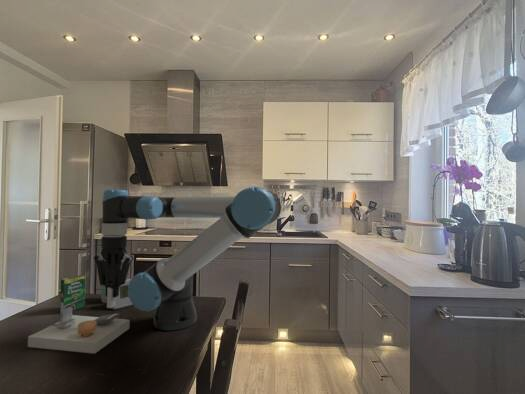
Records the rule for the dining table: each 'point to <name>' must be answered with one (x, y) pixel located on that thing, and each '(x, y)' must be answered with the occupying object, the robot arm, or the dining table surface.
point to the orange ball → (87, 328)
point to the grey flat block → (106, 318)
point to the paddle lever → (66, 318)
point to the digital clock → (123, 296)
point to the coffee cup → (103, 294)
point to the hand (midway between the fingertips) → (111, 306)
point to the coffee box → (73, 292)
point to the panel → (78, 336)
